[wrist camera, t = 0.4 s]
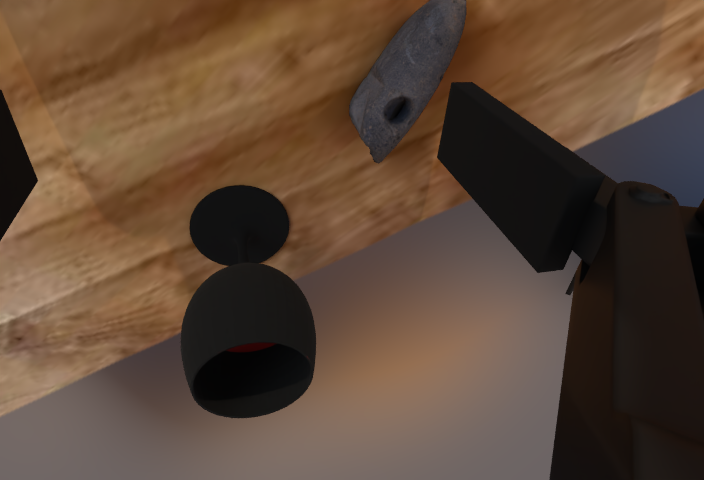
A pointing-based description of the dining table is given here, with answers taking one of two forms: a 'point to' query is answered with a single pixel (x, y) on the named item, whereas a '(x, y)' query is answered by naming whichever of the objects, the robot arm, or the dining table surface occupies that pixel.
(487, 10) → the dining table surface
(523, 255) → the robot arm
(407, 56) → the perforated stone tool
